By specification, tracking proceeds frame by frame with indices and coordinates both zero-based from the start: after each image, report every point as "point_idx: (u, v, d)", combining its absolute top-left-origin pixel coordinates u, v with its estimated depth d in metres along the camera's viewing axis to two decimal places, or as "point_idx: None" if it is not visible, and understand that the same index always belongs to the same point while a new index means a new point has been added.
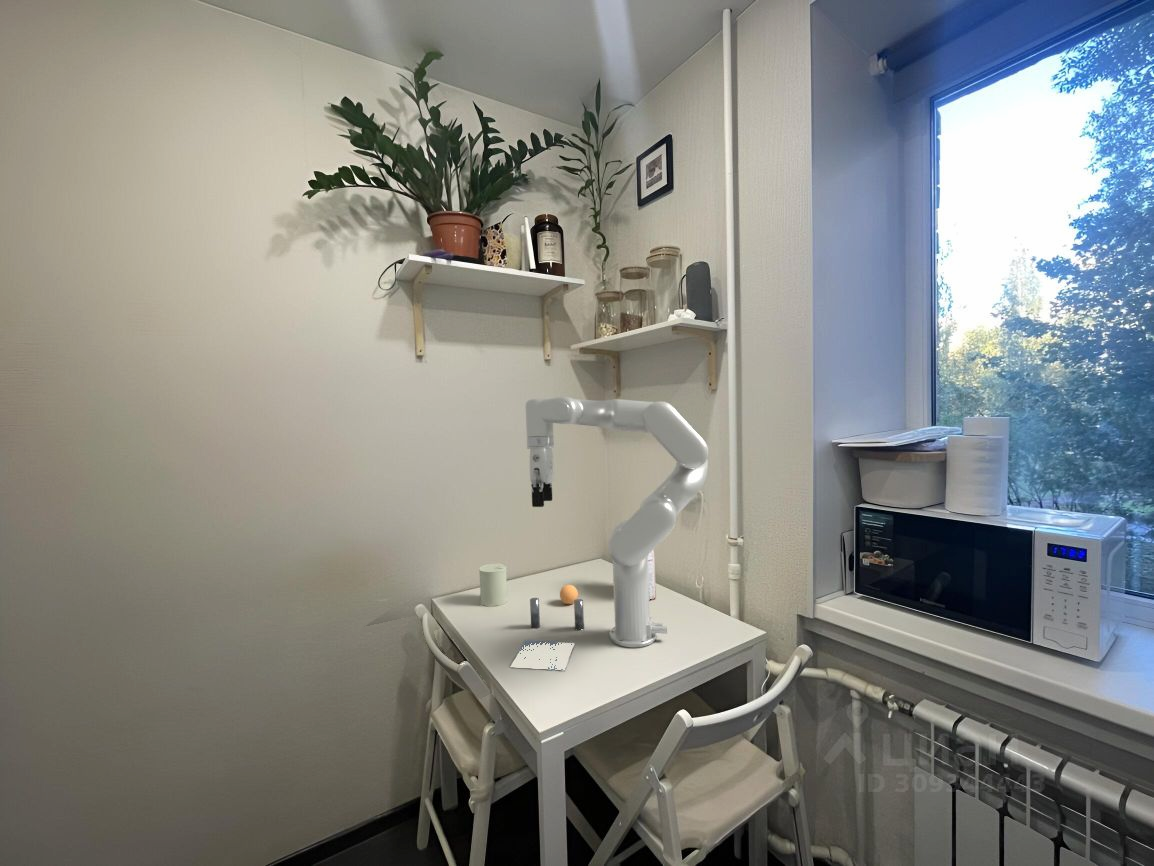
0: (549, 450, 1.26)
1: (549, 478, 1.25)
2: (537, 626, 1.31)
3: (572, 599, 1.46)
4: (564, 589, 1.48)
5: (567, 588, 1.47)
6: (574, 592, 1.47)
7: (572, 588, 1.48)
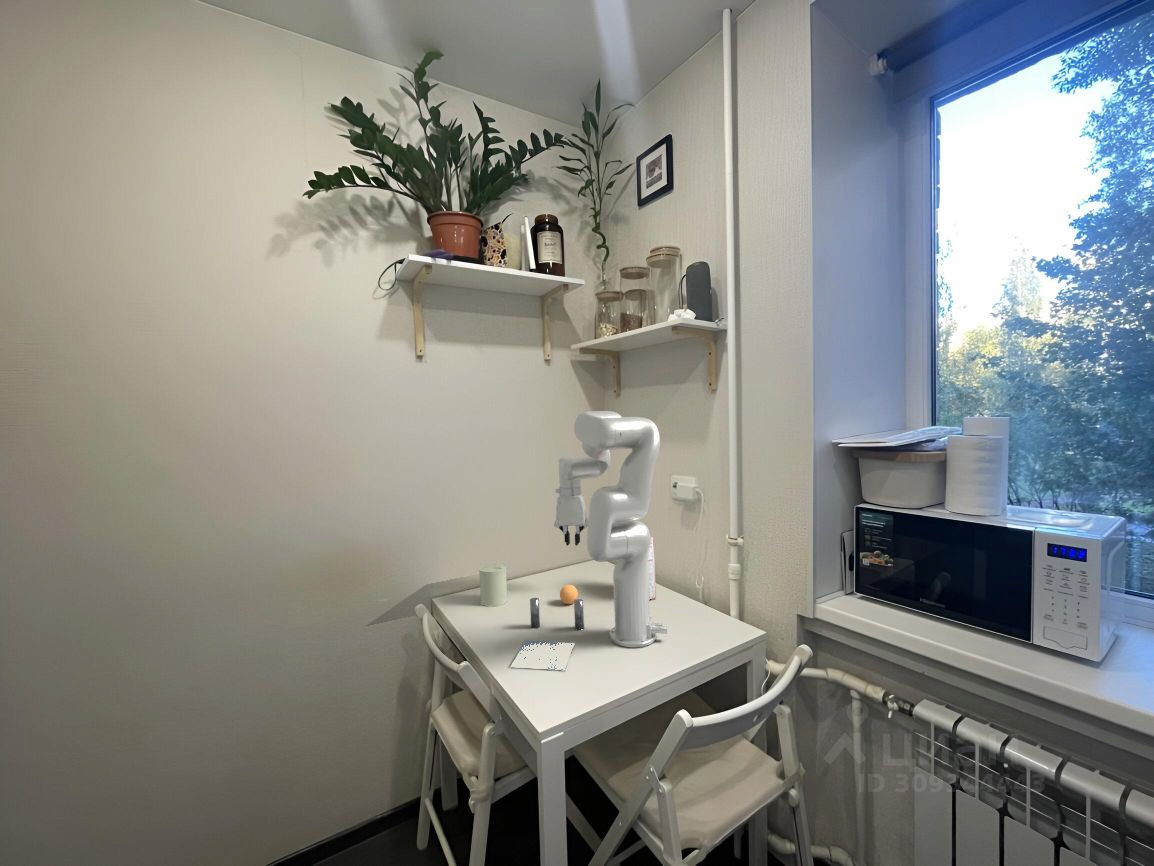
0: (567, 499, 1.56)
1: (563, 521, 1.56)
2: (537, 626, 1.31)
3: (572, 599, 1.46)
4: (564, 589, 1.48)
5: (567, 588, 1.47)
6: (574, 592, 1.47)
7: (572, 588, 1.48)
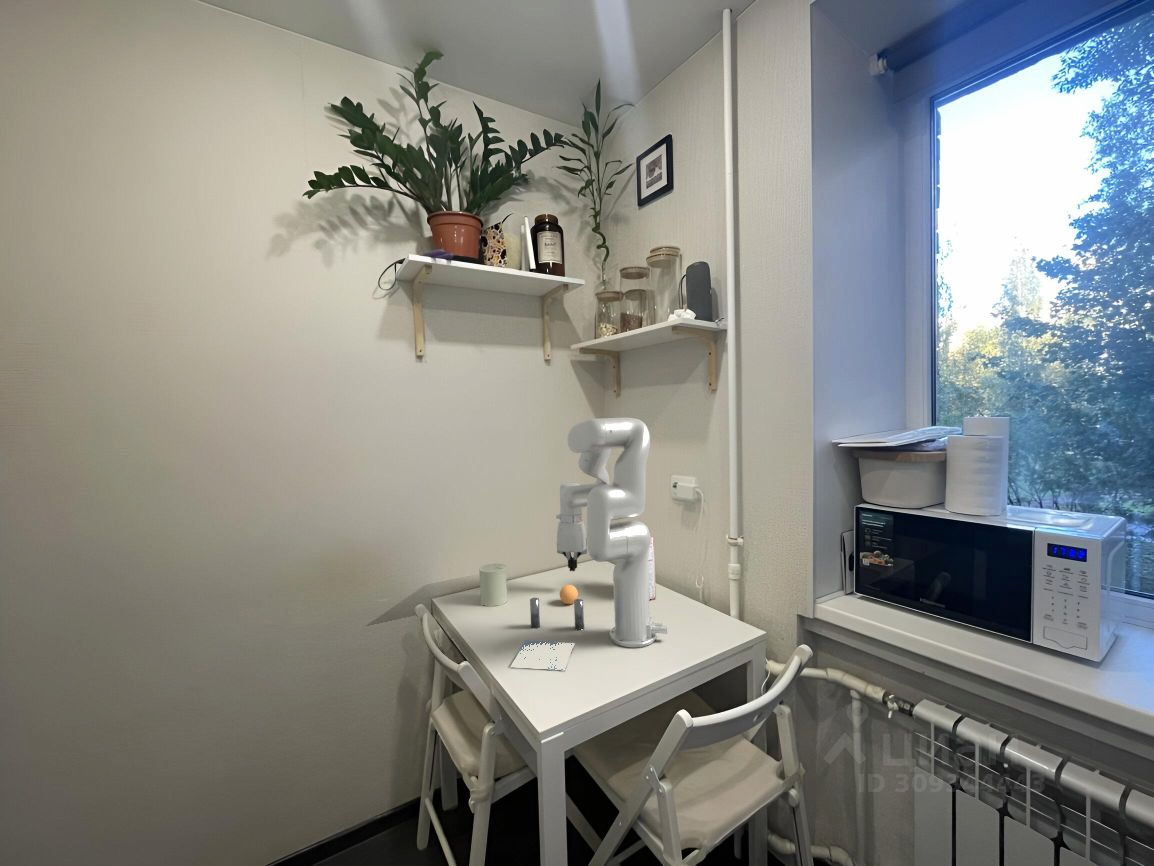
0: (568, 526, 1.56)
1: (564, 548, 1.56)
2: (537, 626, 1.31)
3: (572, 599, 1.46)
4: (564, 589, 1.48)
5: (567, 588, 1.47)
6: (574, 592, 1.47)
7: (572, 588, 1.48)
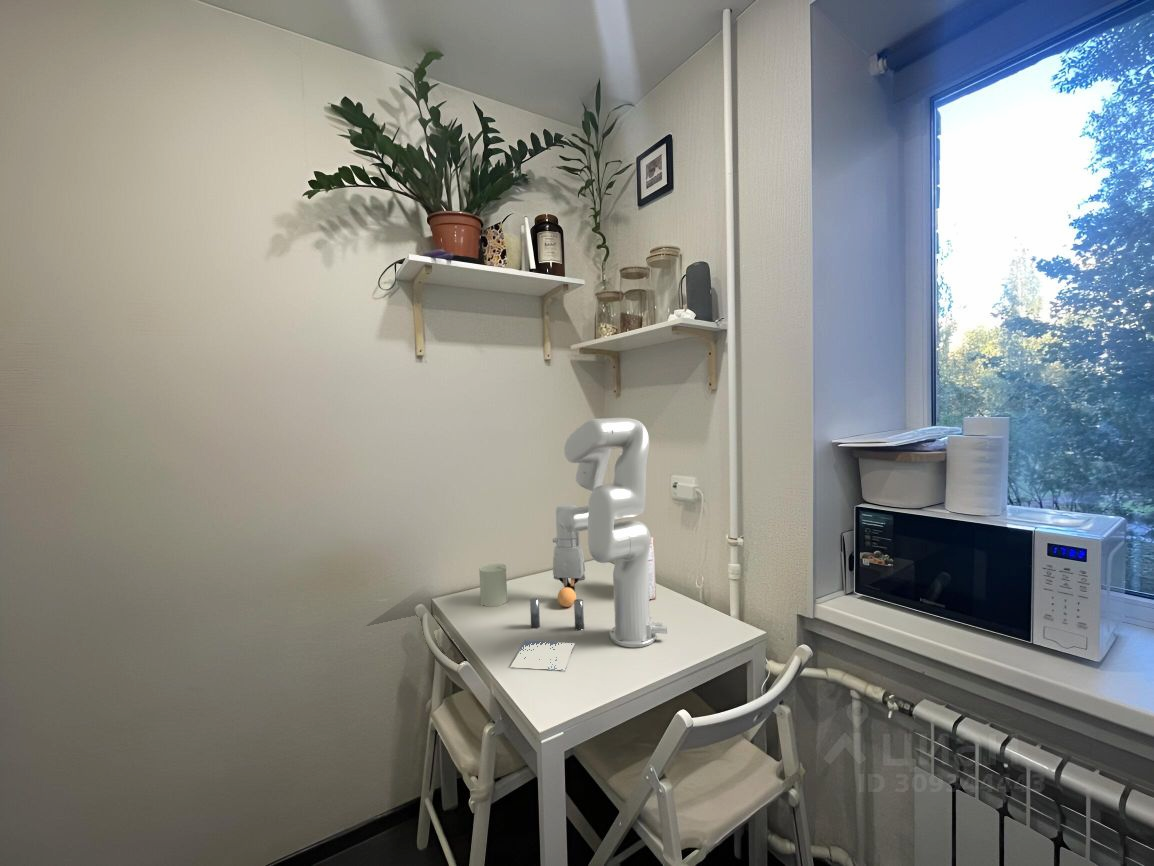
0: (564, 550, 1.49)
1: (560, 573, 1.49)
2: (537, 626, 1.31)
3: (571, 604, 1.45)
4: (561, 596, 1.44)
5: (564, 596, 1.44)
6: (572, 598, 1.44)
7: (569, 594, 1.44)
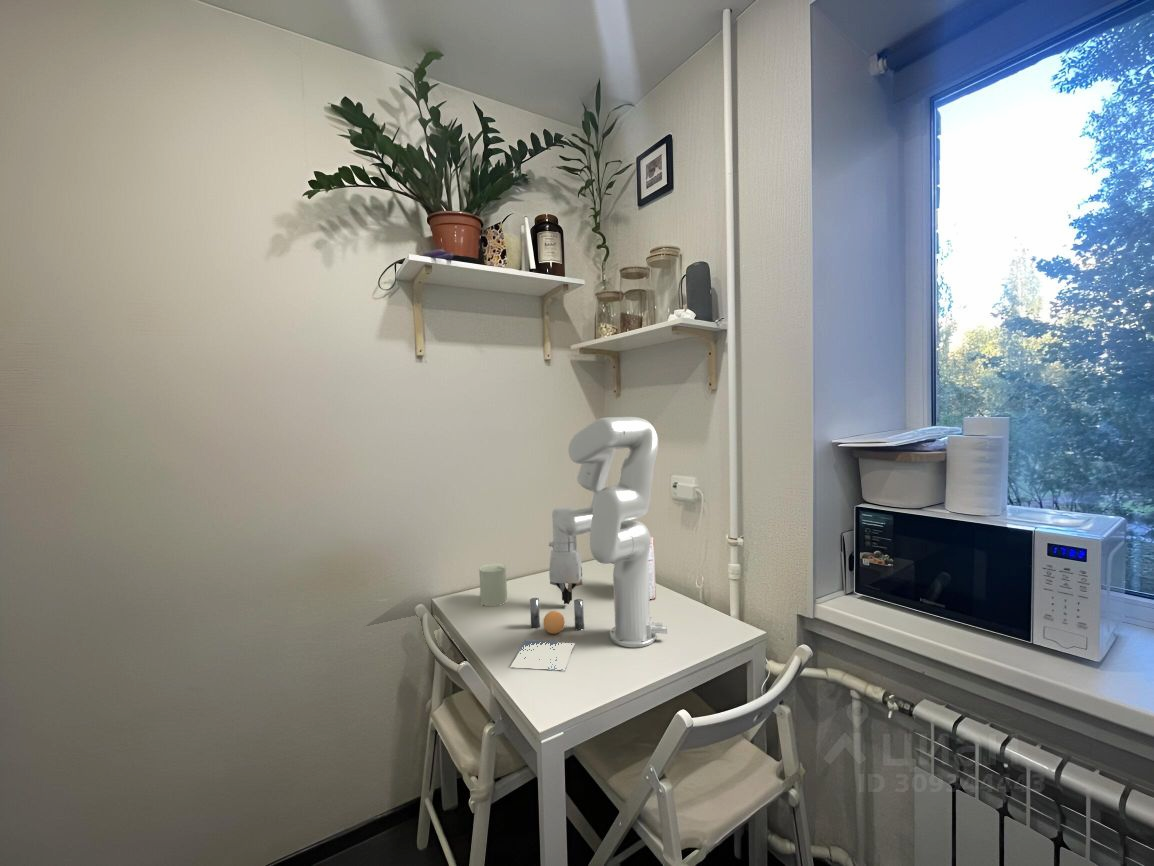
0: (561, 554, 1.43)
1: (557, 578, 1.44)
2: (537, 626, 1.31)
3: (559, 630, 1.26)
4: (548, 622, 1.26)
5: (551, 621, 1.25)
6: (560, 623, 1.26)
7: (557, 619, 1.26)
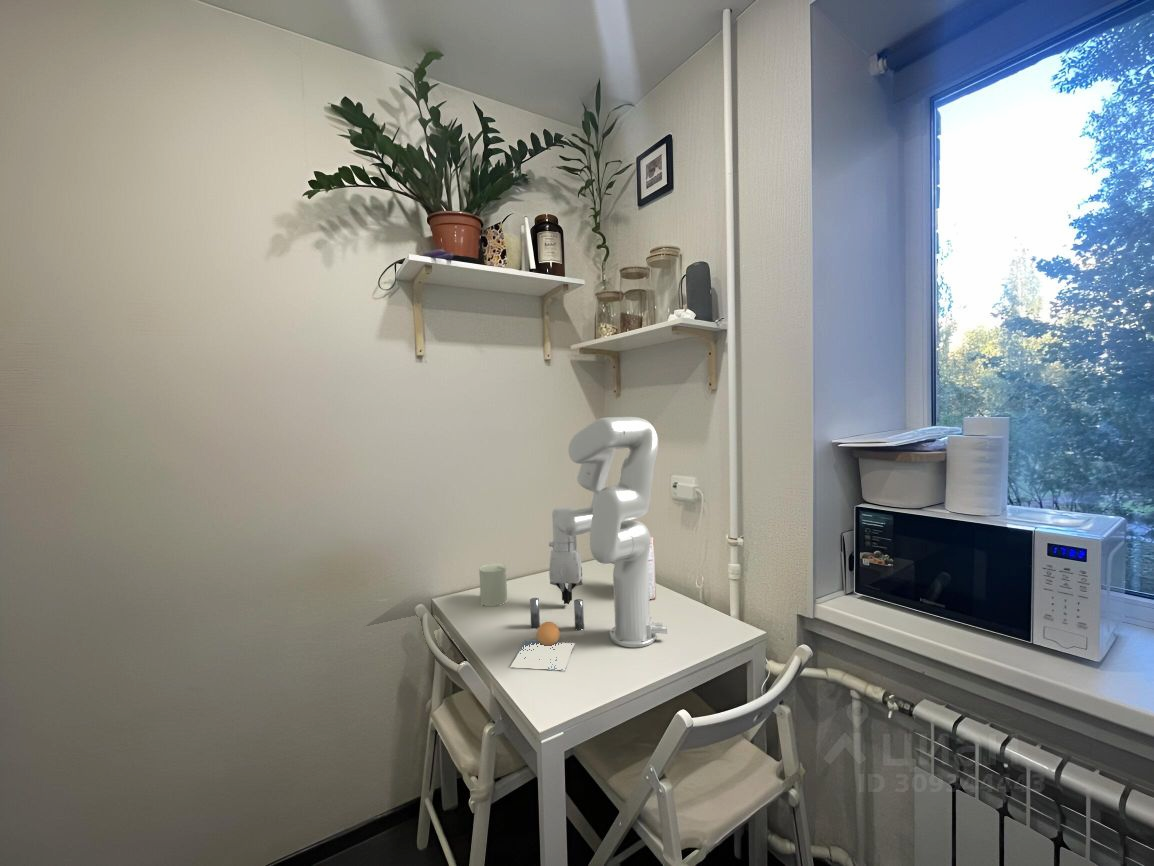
0: (561, 554, 1.43)
1: (557, 578, 1.44)
2: (537, 626, 1.31)
3: None
4: None
5: None
6: None
7: None
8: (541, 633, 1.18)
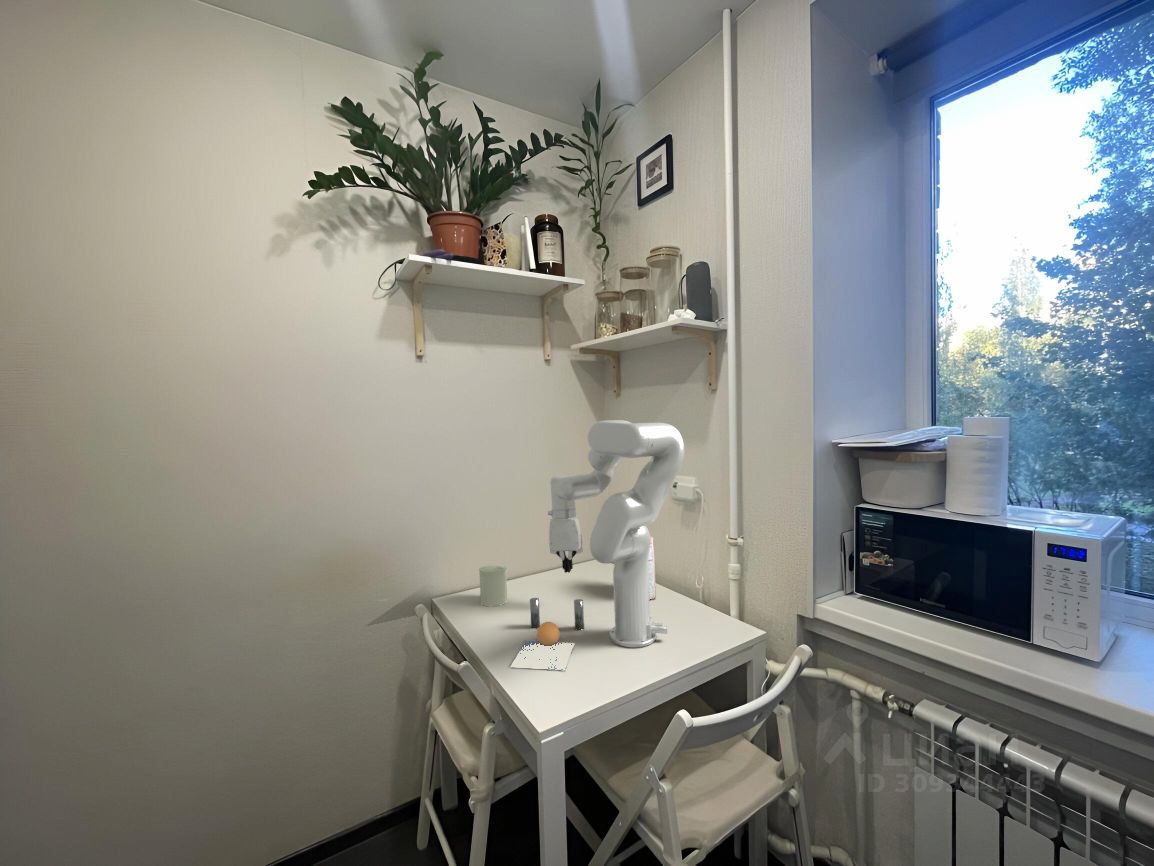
0: (561, 522, 1.43)
1: (557, 546, 1.43)
2: (537, 626, 1.31)
3: None
4: None
5: None
6: None
7: None
8: (541, 633, 1.18)
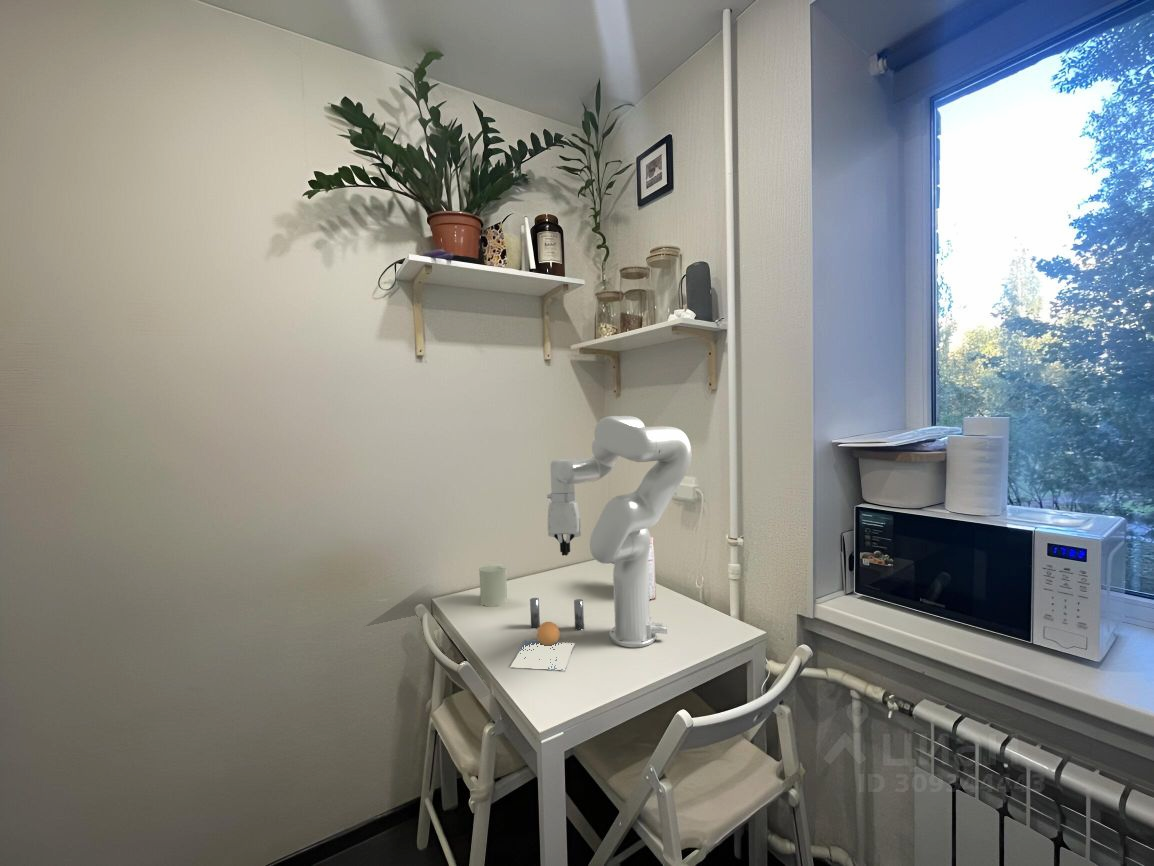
0: (559, 505, 1.43)
1: (555, 529, 1.43)
2: (537, 626, 1.31)
3: None
4: None
5: None
6: None
7: None
8: (541, 633, 1.18)
